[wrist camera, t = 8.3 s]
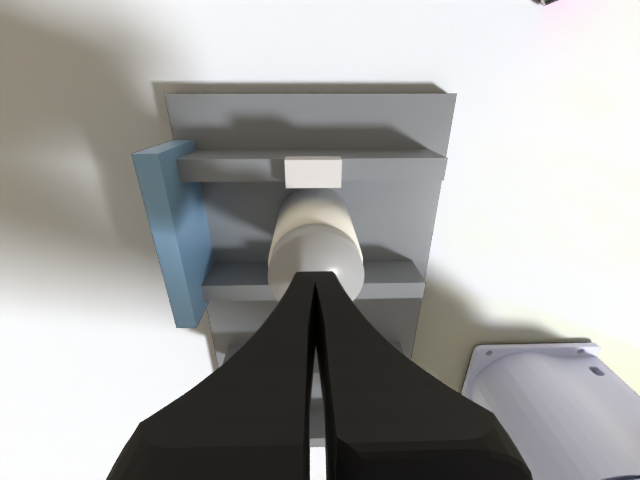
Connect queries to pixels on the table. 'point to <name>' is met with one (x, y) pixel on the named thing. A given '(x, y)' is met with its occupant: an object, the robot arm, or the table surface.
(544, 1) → the candy bar box
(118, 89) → the table surface
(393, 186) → the grey slotted rack
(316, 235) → the cream rounded cylinder
